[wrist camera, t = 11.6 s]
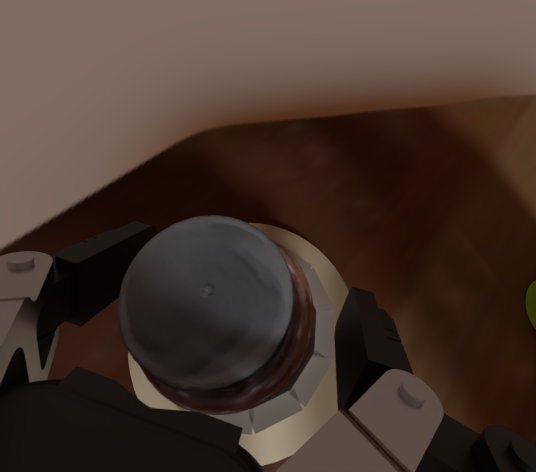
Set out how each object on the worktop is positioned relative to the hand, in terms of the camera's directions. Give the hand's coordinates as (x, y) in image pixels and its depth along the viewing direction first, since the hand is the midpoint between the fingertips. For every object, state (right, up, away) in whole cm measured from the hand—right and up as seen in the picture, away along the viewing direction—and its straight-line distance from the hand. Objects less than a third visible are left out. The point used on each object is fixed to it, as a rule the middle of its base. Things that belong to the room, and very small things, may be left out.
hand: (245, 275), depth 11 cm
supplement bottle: (-1, -4, +6) cm, 7 cm away
